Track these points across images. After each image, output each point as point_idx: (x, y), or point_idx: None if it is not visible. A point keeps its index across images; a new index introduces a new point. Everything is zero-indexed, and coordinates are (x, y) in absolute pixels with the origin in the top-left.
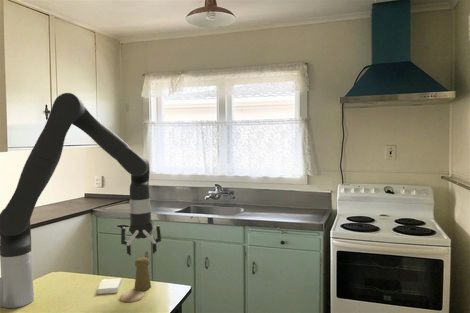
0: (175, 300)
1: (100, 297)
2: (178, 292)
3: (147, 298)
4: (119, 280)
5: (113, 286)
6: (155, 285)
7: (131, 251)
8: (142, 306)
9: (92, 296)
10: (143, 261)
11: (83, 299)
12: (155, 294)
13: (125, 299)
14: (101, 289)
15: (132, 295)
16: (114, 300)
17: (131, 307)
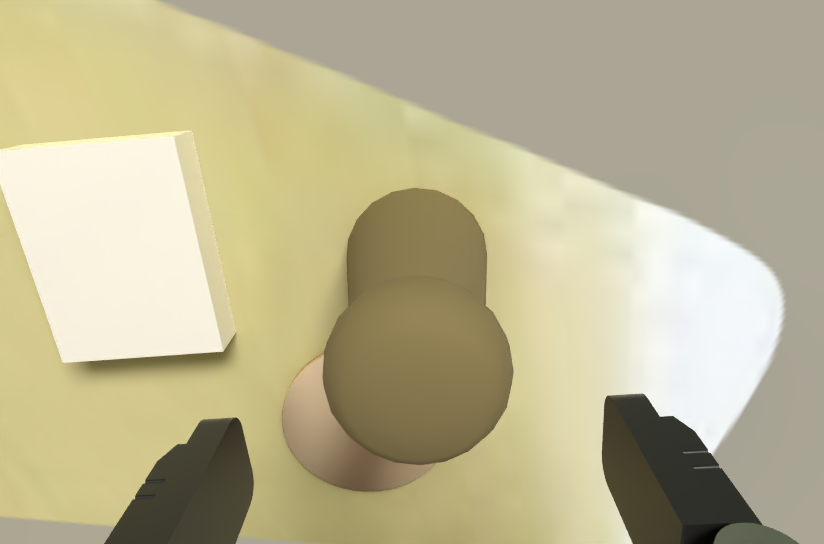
0: None
1: (137, 398)
2: (707, 379)
3: (482, 444)
4: (178, 198)
5: (177, 326)
6: (523, 230)
7: (224, 438)
8: (464, 536)
9: (68, 377)
10: (450, 458)
11: (29, 415)
12: (534, 393)
13: (338, 477)
14: (97, 357)
15: None
16: (259, 449)
17: (399, 540)
